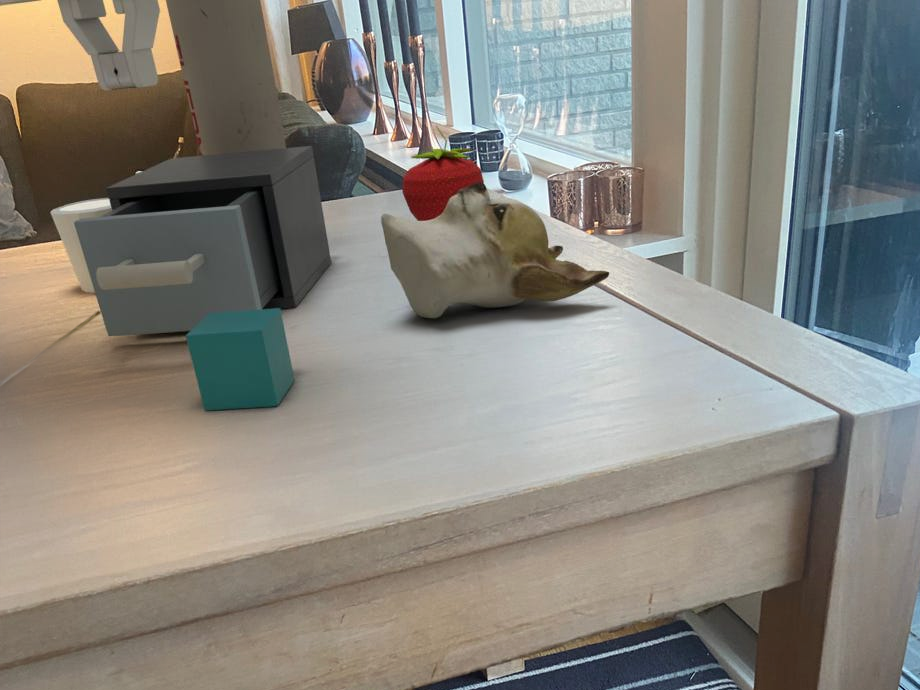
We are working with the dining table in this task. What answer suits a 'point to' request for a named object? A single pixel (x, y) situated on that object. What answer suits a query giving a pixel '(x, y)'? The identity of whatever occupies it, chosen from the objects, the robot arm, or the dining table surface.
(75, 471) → the dining table surface
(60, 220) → the white tapered cup
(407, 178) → the strawberry
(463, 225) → the ceramic sculpture
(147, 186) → the drawer cabinet
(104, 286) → the grey drawer
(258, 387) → the teal matte cube
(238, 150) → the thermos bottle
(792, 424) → the dining table surface
